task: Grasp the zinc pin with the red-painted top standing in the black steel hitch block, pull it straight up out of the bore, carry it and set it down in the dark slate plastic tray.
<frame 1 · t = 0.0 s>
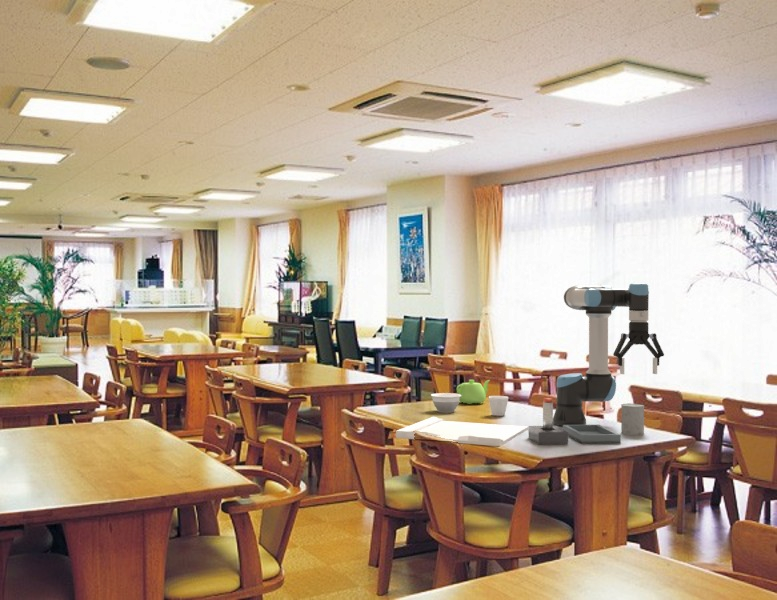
hand: (638, 374, 322), 28 cm above the table, fingers open, 13 cm apart
bowl: (446, 411, 412), on the table
teapot: (473, 403, 444), on the table
cup: (498, 415, 398), on the table
grey cylinder: (632, 433, 346), on the table
slate tray: (590, 437, 334), on the table
lynch pin: (547, 419, 326), in the hitch block
tray: (464, 435, 345), on the table
hitch block: (547, 441, 326), on the table
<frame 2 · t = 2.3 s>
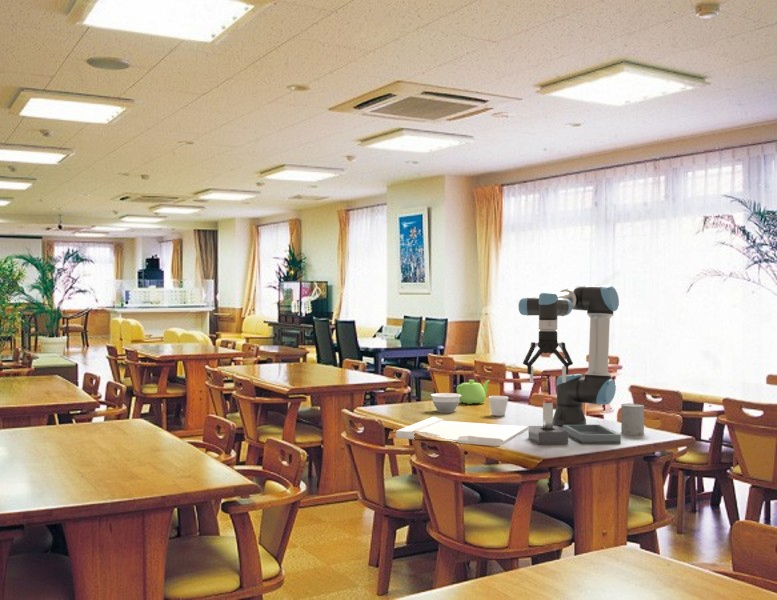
hand: (547, 382, 326), 24 cm above the table, fingers open, 13 cm apart
nothing on the table moved.
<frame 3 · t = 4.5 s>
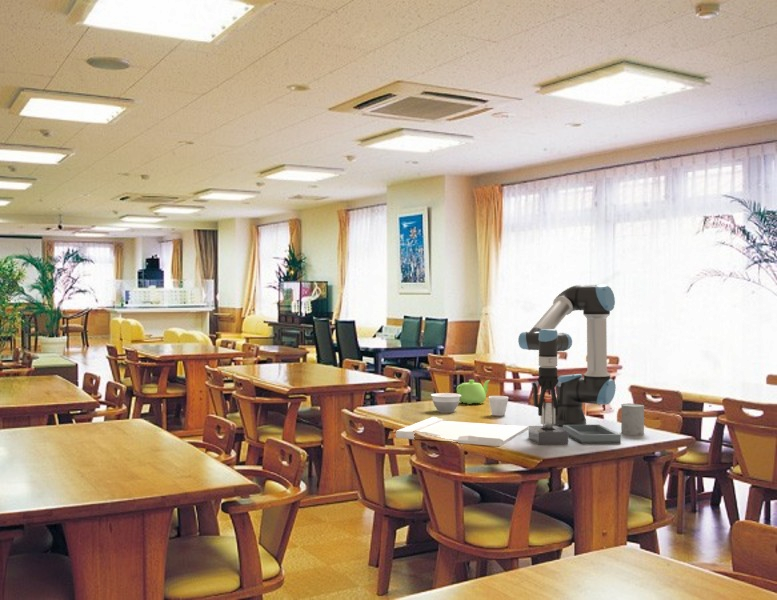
hand: (547, 423, 326), 7 cm above the table, fingers closed on lynch pin, 4 cm apart
lynch pin: (547, 419, 326), in the hitch block, touching gripper
everything else where it was.
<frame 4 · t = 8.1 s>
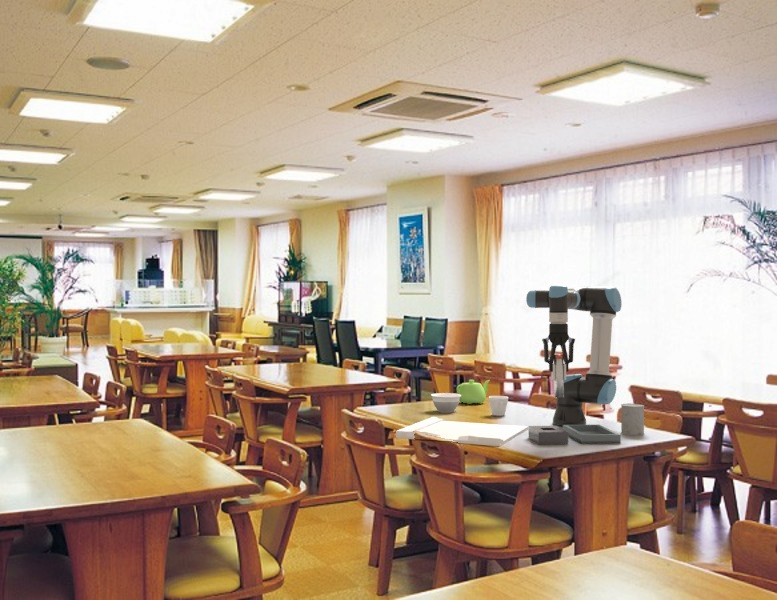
hand: (558, 379, 329), 25 cm above the table, fingers closed on lynch pin, 4 cm apart
lynch pin: (558, 375, 328), point 27 cm above the table, touching gripper
everything else where it was.
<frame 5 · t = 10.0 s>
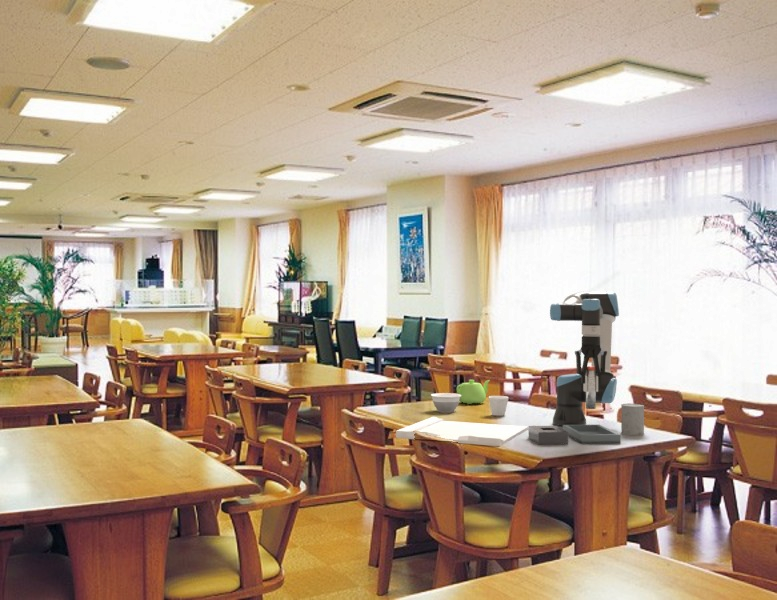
hand: (590, 391, 334), 20 cm above the table, fingers closed on lynch pin, 4 cm apart
lynch pin: (590, 387, 334), point 21 cm above the table, touching gripper
everything else where it was.
when the fingers open (9 cm above the table, at t = 11.7 s): lynch pin stays where it is, resting on slate tray.
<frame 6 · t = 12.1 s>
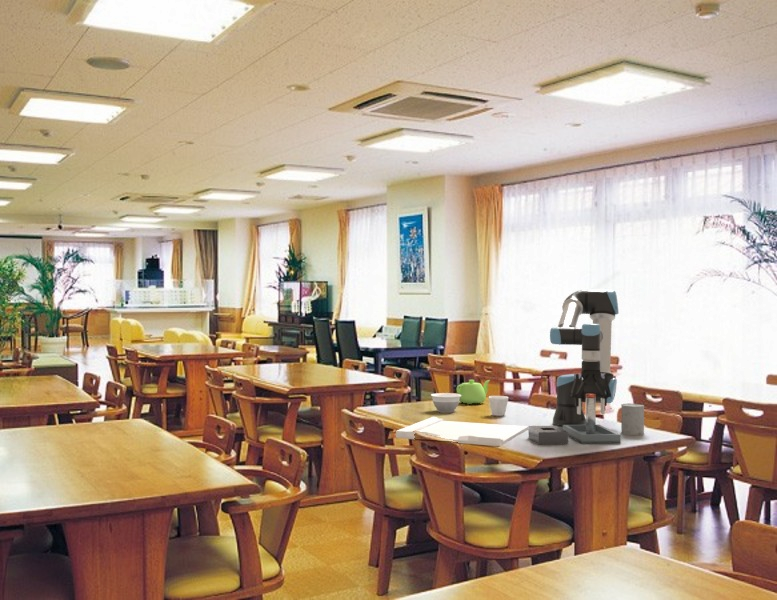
hand: (590, 413, 334), 10 cm above the table, fingers open, 9 cm apart
lynch pin: (590, 414, 334), in the slate tray, point 10 cm above the table
everything else where it was.
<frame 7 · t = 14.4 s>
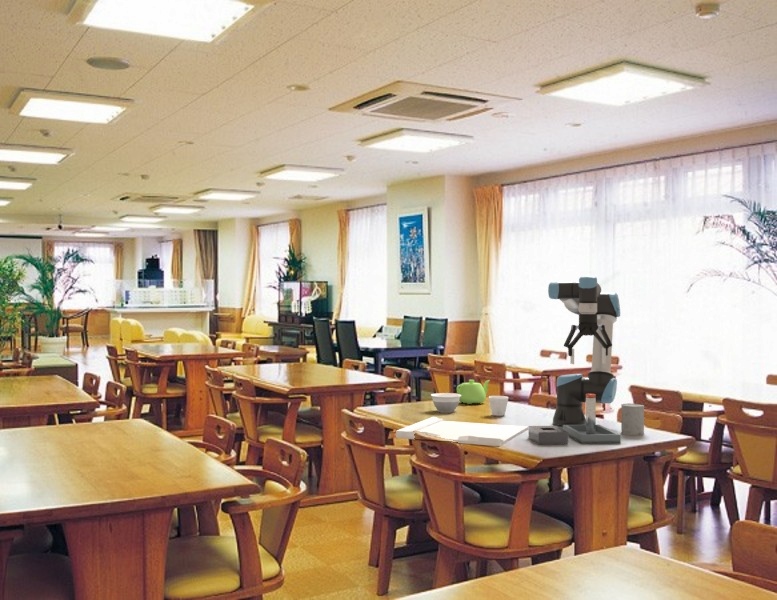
hand: (588, 363, 335), 31 cm above the table, fingers open, 13 cm apart
nothing on the table moved.
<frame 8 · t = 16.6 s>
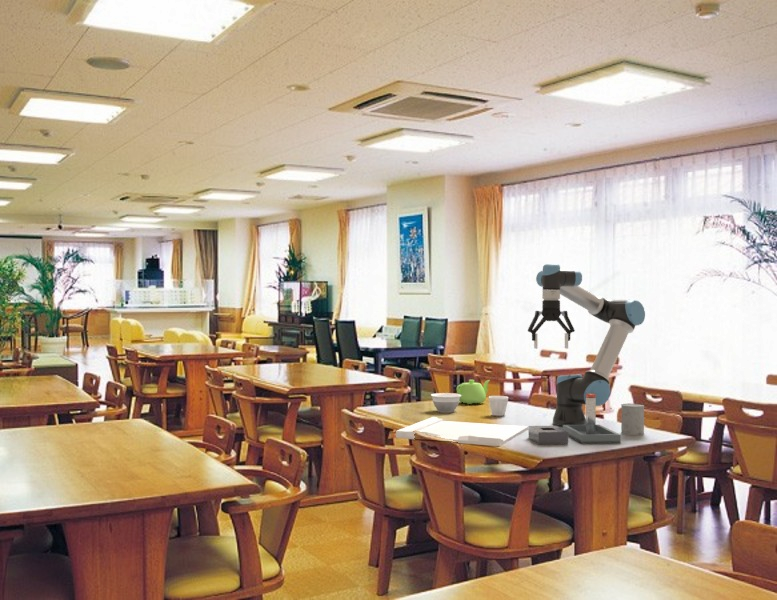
hand: (551, 348, 347), 37 cm above the table, fingers open, 13 cm apart
nothing on the table moved.
at the end: lynch pin inside the target area on the slate tray (0.0 cm from its centre), point 9.7 cm above the slate tray's base; the gripper is holding nothing; lynch pin touching slate tray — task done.
